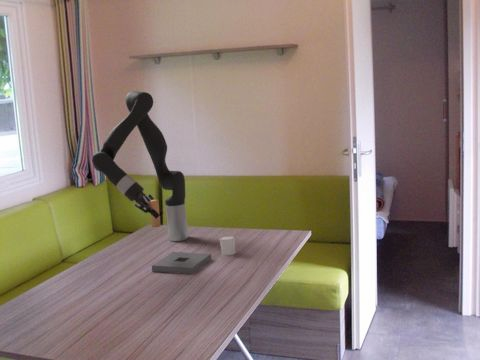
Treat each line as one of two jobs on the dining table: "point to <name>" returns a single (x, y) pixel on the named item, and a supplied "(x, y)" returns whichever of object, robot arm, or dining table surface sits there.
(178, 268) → the peg board
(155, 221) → the peg
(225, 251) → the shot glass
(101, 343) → the dining table surface
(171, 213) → the robot arm
